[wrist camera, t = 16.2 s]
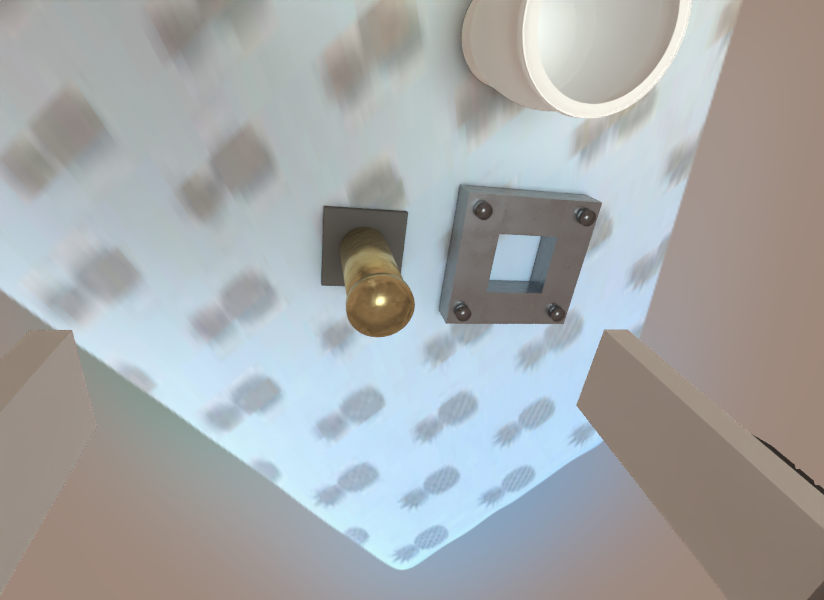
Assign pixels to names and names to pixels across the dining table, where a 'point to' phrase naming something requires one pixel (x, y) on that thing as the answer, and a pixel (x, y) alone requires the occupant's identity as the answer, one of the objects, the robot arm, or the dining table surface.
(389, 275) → the brass-coloured knob
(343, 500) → the dining table surface
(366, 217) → the mat
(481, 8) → the jar
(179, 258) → the dining table surface
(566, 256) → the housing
